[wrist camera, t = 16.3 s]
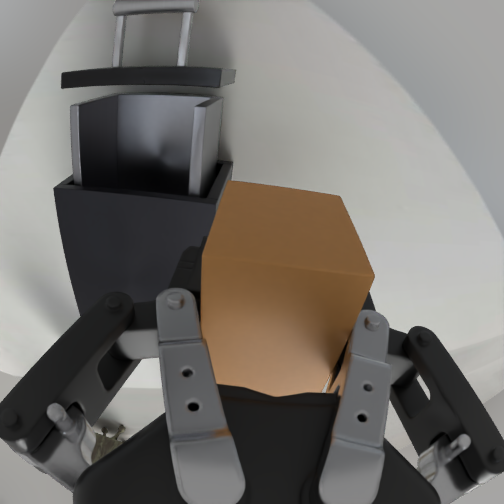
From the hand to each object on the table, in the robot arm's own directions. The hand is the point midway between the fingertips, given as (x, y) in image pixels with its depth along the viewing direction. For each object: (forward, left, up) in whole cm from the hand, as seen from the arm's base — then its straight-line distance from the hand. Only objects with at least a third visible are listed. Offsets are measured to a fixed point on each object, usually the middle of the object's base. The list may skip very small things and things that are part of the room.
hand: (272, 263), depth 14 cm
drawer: (-7, -8, -16) cm, 19 cm away
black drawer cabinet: (+4, -12, -17) cm, 21 cm away
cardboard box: (0, 0, -1) cm, 1 cm away
